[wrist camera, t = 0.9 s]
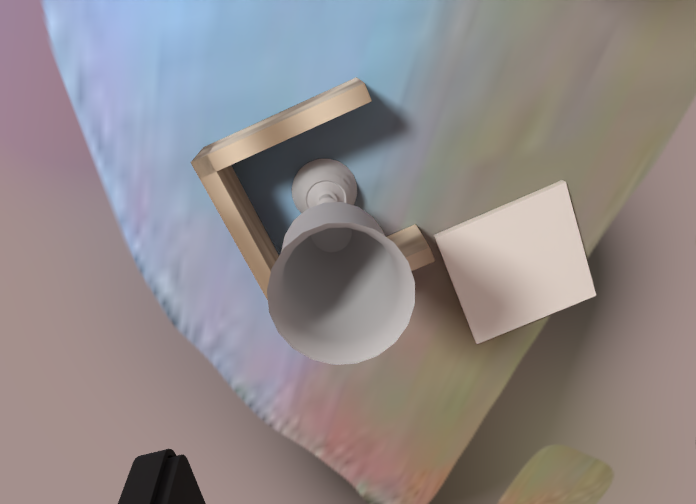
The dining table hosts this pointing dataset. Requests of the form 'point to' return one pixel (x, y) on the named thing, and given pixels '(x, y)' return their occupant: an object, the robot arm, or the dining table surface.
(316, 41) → the dining table surface
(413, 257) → the cubby
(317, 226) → the chalice
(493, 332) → the mat
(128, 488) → the robot arm
